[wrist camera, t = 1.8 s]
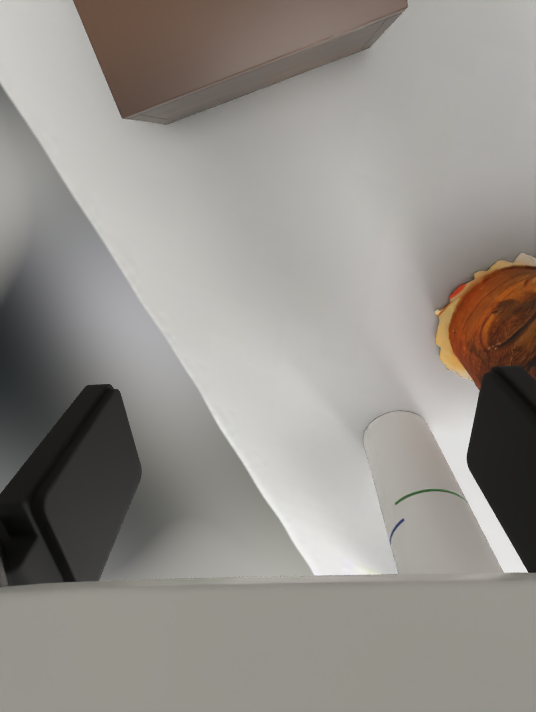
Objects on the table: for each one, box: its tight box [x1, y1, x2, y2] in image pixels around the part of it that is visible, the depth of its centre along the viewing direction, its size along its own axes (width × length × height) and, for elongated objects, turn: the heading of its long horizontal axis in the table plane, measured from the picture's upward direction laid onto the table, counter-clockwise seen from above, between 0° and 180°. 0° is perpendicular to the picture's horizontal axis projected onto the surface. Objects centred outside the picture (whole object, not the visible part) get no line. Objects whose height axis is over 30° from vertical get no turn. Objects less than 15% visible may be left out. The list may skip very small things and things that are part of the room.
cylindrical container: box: [363, 411, 504, 574], centre depth 33 cm, size 7×7×25 cm
